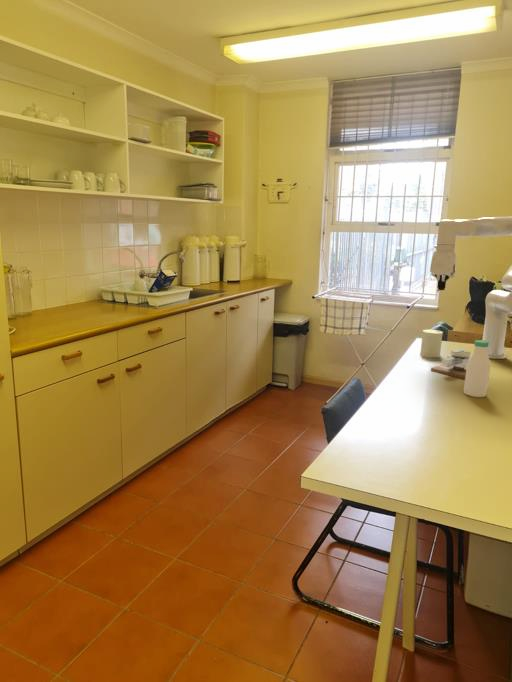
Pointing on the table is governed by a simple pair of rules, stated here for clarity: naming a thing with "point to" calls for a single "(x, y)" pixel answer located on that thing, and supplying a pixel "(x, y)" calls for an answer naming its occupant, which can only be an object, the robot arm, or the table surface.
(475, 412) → the table surface
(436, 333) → the can
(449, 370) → the post base
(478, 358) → the milk bottle
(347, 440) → the table surface
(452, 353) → the coupling
